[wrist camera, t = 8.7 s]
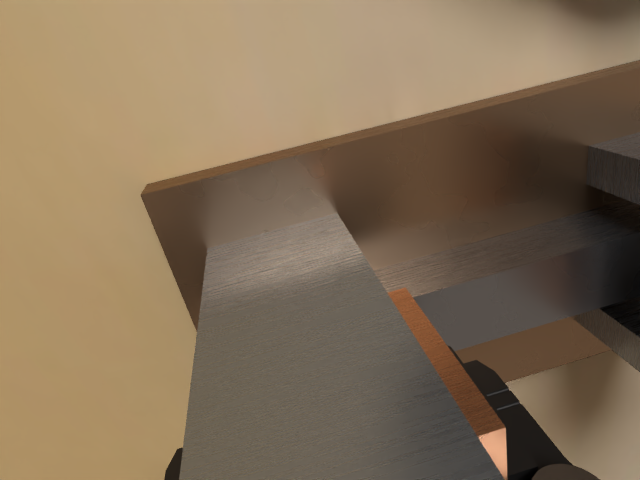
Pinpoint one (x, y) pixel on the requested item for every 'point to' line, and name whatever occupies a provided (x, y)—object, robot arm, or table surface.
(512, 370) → the rail
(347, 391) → the block
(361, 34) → the table surface
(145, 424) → the table surface
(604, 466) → the table surface
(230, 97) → the table surface
